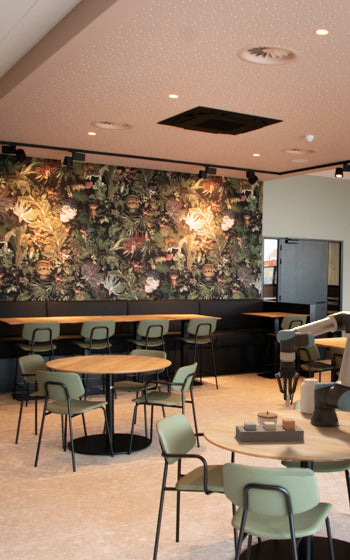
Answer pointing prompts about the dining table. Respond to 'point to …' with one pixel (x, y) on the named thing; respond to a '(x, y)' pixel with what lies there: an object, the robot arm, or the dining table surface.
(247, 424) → the grey cube
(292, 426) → the key terracotta
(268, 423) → the key ivory
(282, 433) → the console
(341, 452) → the dining table surface
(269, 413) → the lidded jar
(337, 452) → the dining table surface
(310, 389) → the can
